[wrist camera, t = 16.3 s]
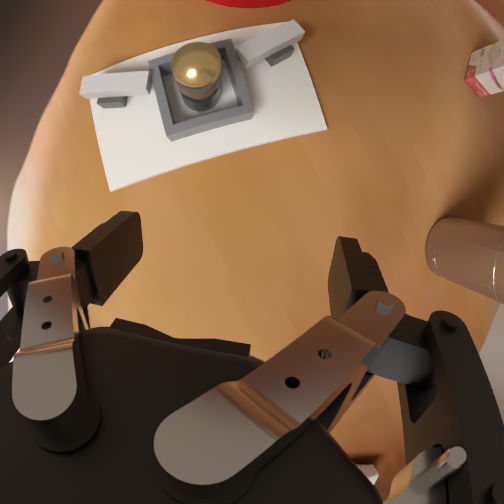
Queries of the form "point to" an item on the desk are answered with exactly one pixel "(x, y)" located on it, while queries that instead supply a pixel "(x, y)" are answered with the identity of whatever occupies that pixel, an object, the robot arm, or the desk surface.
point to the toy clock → (249, 3)
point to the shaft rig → (208, 122)
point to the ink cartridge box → (487, 69)
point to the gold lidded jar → (198, 75)
